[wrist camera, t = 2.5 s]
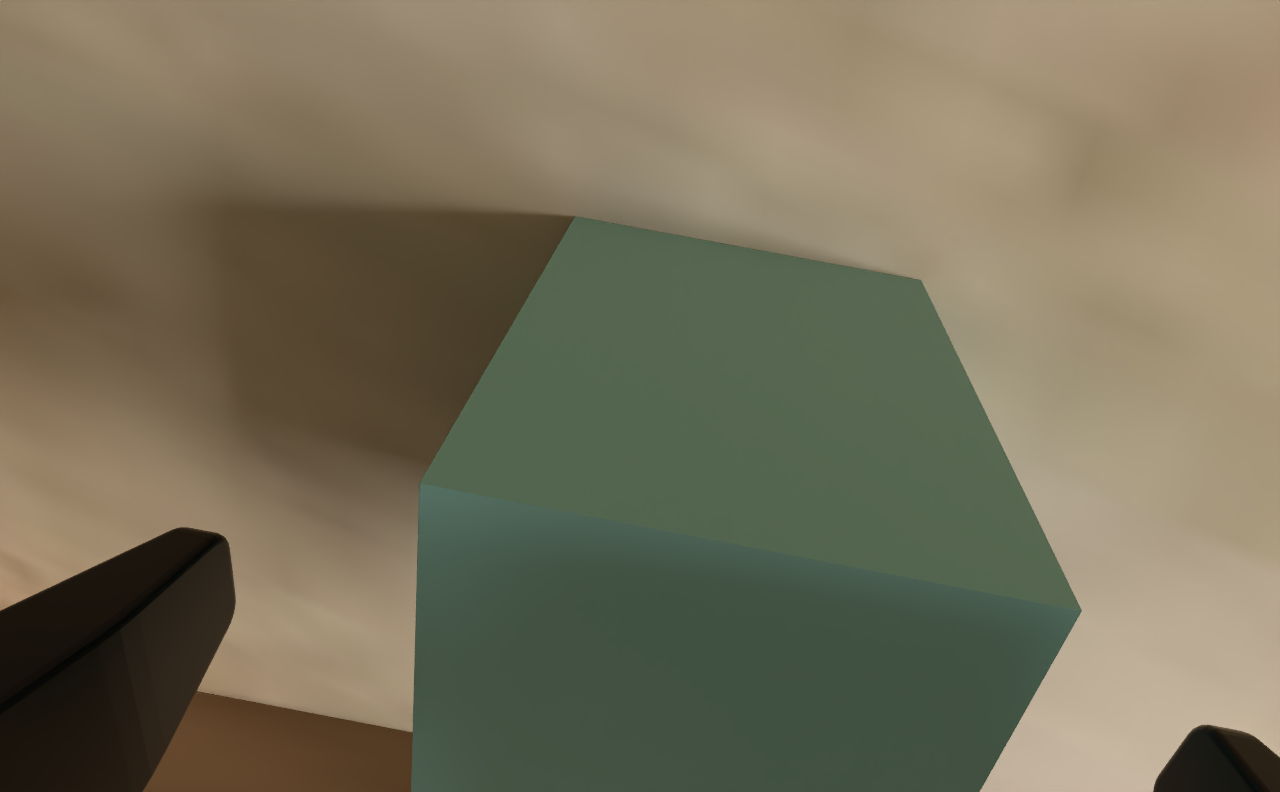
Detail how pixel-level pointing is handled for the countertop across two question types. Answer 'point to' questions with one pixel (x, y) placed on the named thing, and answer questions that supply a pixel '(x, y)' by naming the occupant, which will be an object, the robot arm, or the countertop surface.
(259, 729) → the bottom block
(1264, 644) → the countertop surface
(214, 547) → the robot arm
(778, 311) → the pillar block
